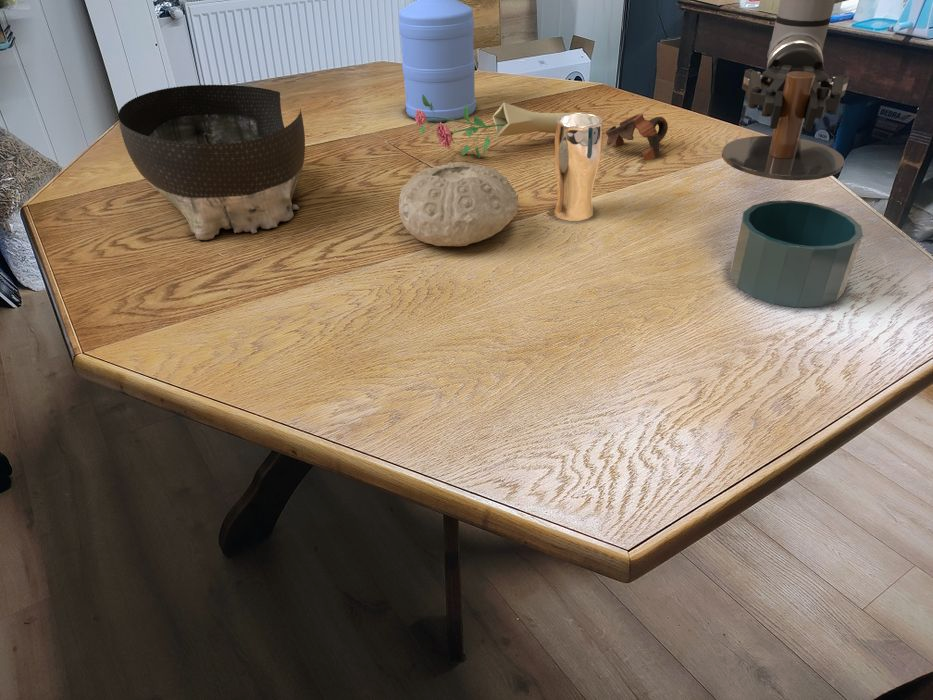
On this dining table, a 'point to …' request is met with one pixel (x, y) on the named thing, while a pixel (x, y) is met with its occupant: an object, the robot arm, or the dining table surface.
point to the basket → (217, 154)
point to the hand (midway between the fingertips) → (793, 118)
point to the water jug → (438, 58)
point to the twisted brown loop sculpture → (645, 130)
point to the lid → (786, 142)
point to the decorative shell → (457, 204)
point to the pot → (795, 253)
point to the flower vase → (505, 121)
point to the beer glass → (576, 163)
